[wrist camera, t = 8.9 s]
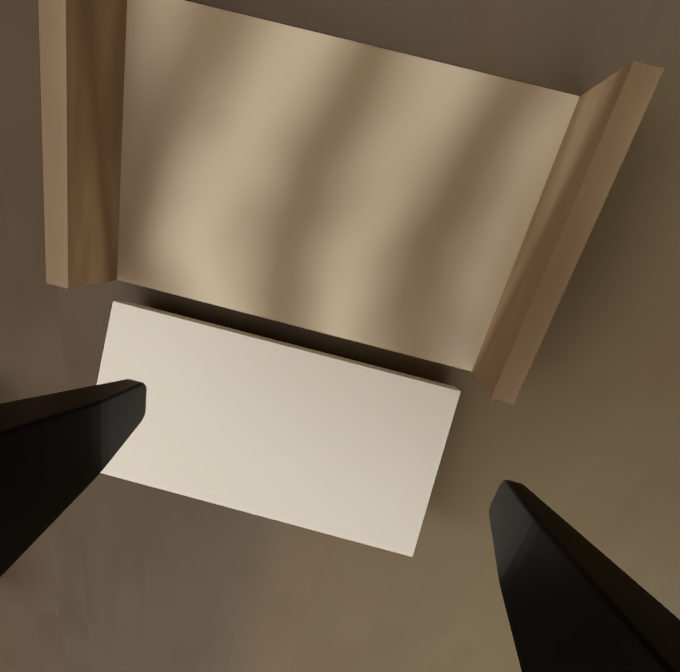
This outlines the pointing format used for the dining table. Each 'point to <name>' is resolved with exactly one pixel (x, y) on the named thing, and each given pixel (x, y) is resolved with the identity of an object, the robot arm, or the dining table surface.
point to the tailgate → (278, 427)
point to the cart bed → (322, 178)
